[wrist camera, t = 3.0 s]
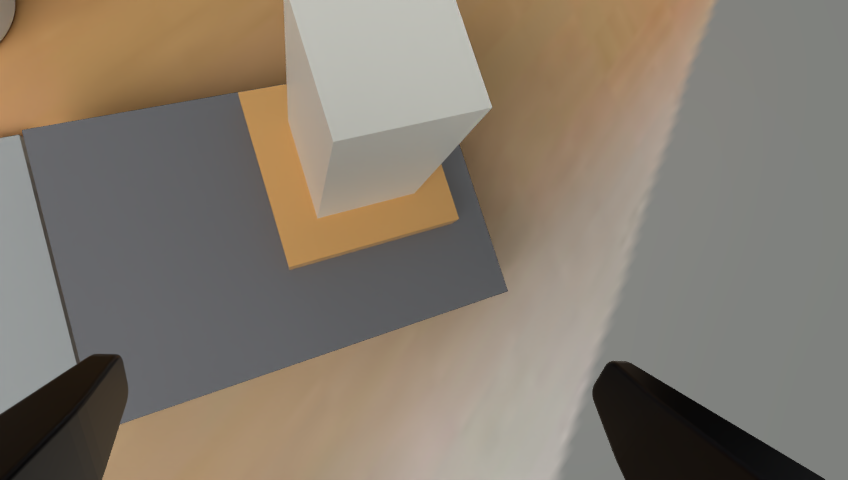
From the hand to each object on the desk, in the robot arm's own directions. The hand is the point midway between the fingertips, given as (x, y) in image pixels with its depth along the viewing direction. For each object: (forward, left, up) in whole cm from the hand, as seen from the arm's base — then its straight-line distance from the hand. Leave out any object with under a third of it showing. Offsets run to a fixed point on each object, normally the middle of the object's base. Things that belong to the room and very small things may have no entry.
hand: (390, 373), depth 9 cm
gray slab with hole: (+5, 0, -13) cm, 15 cm away
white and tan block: (+7, -3, -13) cm, 15 cm away
